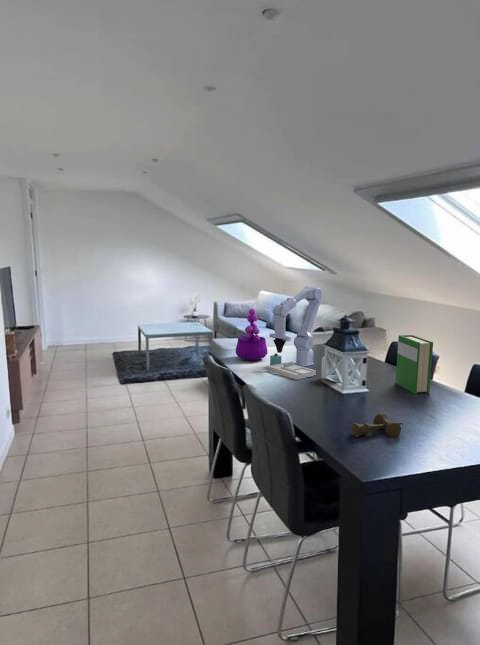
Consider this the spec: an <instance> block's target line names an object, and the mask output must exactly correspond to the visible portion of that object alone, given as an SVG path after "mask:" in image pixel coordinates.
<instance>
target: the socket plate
mask: <svg viewBox="0 0 480 645" xmlns="http://www.w3.org/2000/svg"><path fill="white" fill-rule="evenodd" d="M284 363H287V362H281V363H280V364H275V365H270V364H269V365H266V371H267V372H271V373H274V374H276V375H280V376H284V377H285V378H290V379H293V380H301V379H306V378H309V377H313V376H314V375H315V376H316V372H317V371H316V370H315V369H311V368H308V367H306V366H304V367H302V366H298V365H295V364H293V365H294V366H297V367H301V368H302V369H297V370H290V369H286V368H283V367H284Z"/></svg>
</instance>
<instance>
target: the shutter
mask: <svg viewBox="0 0 480 645" xmlns="http://www.w3.org/2000/svg"><path fill="white" fill-rule="evenodd" d="M283 363H284V367H283V368H286V369H290V370H297V369H302V368H301V367H302V366H301V367H297V366H298V365H297V366H294V365H295V364H294V365H293V363H294V361H289V362H287V363H285V362H283Z"/></svg>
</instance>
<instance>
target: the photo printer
mask: <svg viewBox="0 0 480 645" xmlns="http://www.w3.org/2000/svg"><path fill="white" fill-rule="evenodd" d="M325 356H326V355H325ZM325 356H323V357H322V358H321V372H320V373H321V375H320V376H321V379H322V380H324V379H323V378H324V376H325Z"/></svg>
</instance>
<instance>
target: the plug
mask: <svg viewBox="0 0 480 645" xmlns="http://www.w3.org/2000/svg"><path fill="white" fill-rule="evenodd" d="M280 363H282V355H279V354H278V353H274V354H271V355H269V366H270V365H275V364H280Z"/></svg>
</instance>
